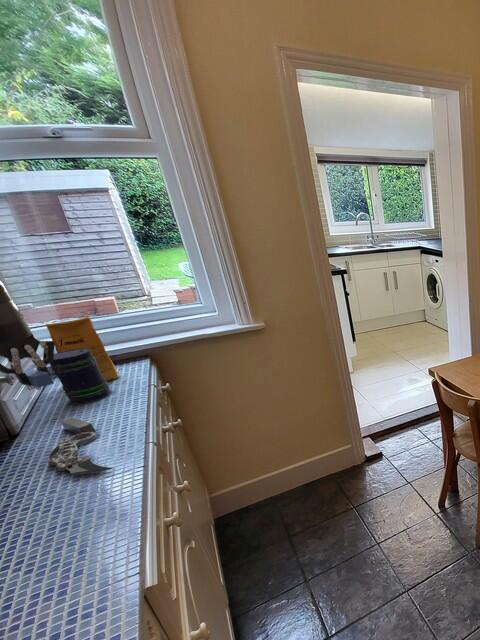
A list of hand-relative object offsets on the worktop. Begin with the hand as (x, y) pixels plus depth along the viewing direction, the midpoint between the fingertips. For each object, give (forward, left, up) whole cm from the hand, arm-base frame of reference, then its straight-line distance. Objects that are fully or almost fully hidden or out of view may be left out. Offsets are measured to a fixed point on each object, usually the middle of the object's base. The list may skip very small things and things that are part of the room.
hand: (37, 382), depth 111 cm
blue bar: (0, 0, 0) cm, 0 cm away
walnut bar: (0, -11, -13) cm, 17 cm away
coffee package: (+21, +30, -13) cm, 39 cm away
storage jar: (+13, +14, -13) cm, 23 cm away
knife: (-7, -29, -13) cm, 33 cm away
